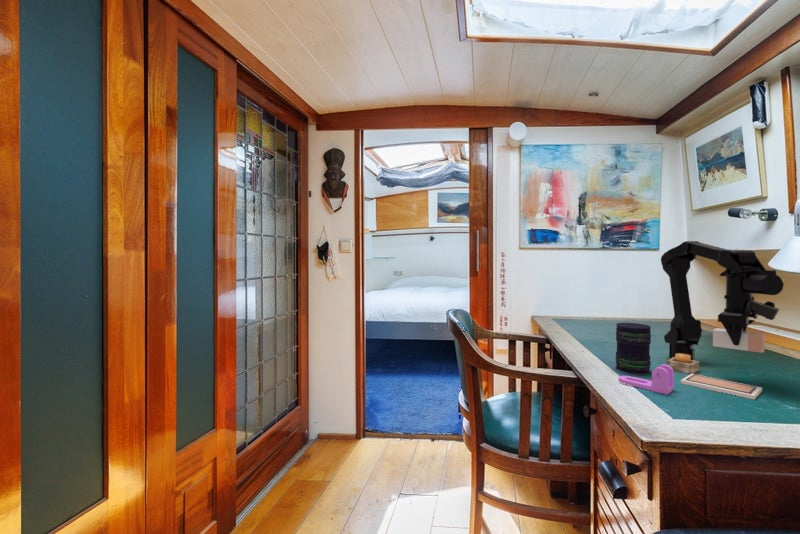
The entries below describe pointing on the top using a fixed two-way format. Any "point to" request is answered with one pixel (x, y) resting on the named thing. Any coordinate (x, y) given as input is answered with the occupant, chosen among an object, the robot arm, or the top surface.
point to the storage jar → (633, 348)
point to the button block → (683, 366)
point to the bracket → (654, 380)
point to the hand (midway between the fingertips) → (737, 344)
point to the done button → (683, 358)
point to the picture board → (722, 386)
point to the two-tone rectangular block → (747, 341)
